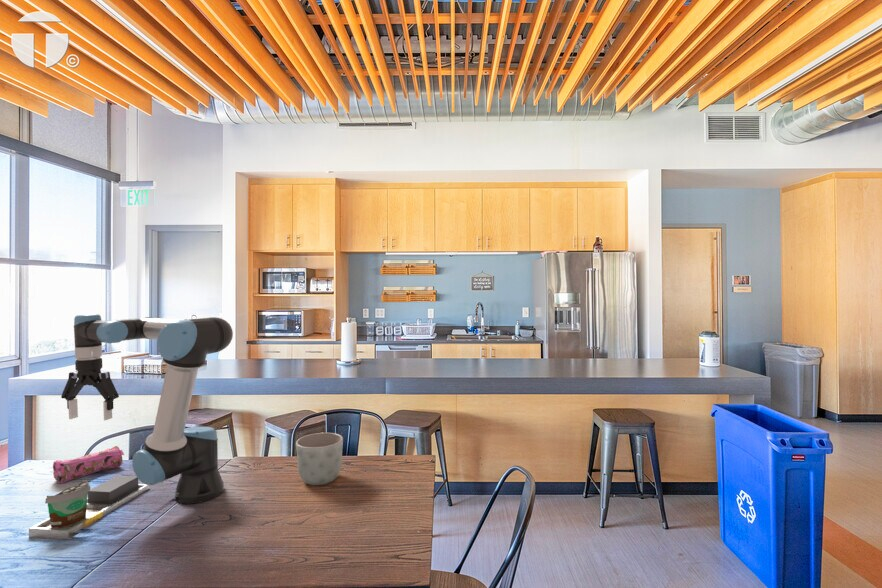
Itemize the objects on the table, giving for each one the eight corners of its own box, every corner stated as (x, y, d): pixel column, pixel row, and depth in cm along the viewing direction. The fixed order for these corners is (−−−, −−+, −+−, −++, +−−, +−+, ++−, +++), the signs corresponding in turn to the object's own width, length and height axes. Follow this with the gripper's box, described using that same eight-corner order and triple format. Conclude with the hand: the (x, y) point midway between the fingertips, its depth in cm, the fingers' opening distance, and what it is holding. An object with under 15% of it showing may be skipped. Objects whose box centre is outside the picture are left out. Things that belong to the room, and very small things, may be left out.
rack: (150, 491, 164) (150, 483, 164) (70, 539, 133) (69, 530, 133) (116, 489, 166) (116, 482, 166) (29, 536, 135) (28, 527, 135)
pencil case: (57, 487, 168) (56, 463, 168) (51, 481, 174) (50, 458, 174) (125, 469, 185) (125, 447, 185) (118, 463, 191) (117, 442, 190)
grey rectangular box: (138, 490, 162) (138, 476, 162) (109, 507, 151) (109, 492, 150) (118, 489, 163) (117, 475, 163) (88, 505, 152) (87, 490, 151)
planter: (353, 477, 174) (352, 437, 174) (319, 494, 160) (318, 451, 160) (321, 467, 183) (320, 429, 183) (286, 483, 169) (285, 442, 169)
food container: (63, 531, 135) (62, 498, 135) (45, 529, 136) (44, 496, 136) (101, 511, 148) (100, 480, 147) (84, 509, 149) (83, 478, 148)
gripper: (129, 357, 163) (131, 416, 164) (67, 356, 167) (69, 414, 167) (112, 360, 156) (113, 422, 157) (46, 359, 159) (48, 420, 160)
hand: (90, 418), depth 162 cm, fingers open, 13 cm apart
